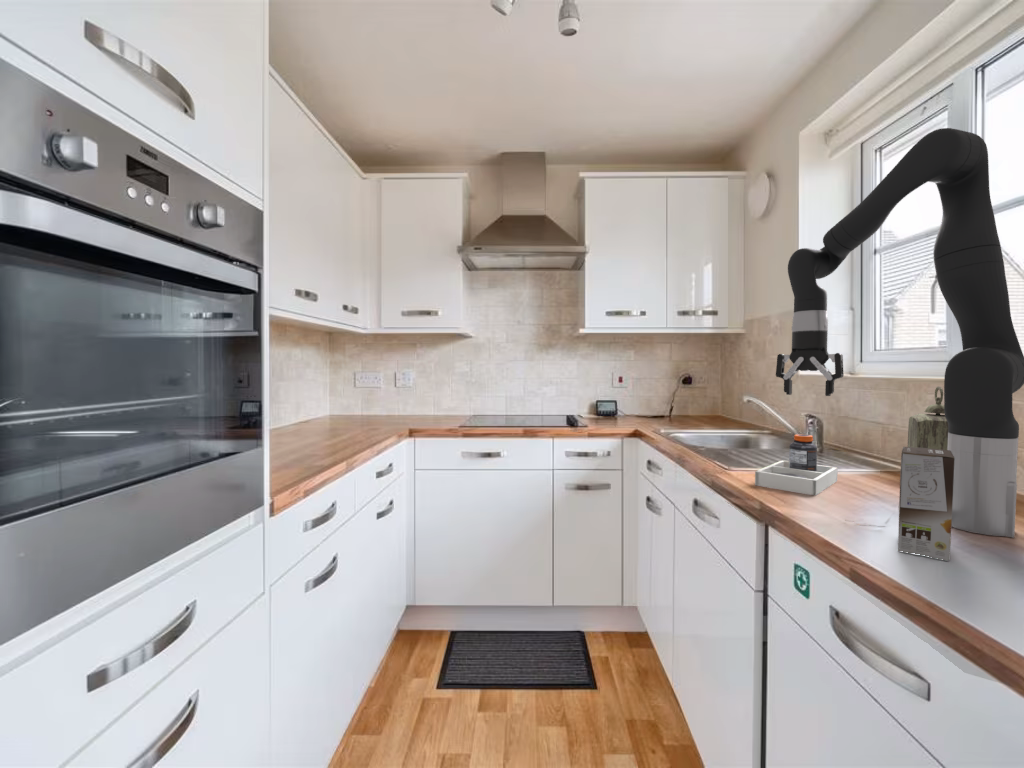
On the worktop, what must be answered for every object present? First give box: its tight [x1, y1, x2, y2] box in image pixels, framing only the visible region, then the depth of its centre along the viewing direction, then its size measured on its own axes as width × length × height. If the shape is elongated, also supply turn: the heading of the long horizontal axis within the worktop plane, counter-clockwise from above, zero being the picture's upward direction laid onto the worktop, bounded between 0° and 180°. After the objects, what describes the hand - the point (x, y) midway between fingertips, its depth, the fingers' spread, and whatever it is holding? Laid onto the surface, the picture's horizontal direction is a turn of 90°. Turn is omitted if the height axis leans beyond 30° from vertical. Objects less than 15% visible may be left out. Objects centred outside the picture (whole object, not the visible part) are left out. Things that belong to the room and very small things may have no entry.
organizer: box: [754, 460, 839, 496], centre depth 117 cm, size 13×20×4 cm, turn 135°
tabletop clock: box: [907, 386, 948, 450], centre depth 123 cm, size 14×9×25 cm, turn 148°
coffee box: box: [897, 446, 955, 561], centre depth 78 cm, size 9×6×16 cm
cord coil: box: [780, 473, 806, 478], centre depth 114 cm, size 6×6×2 cm
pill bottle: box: [788, 433, 818, 472], centre depth 121 cm, size 6×6×11 cm
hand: (807, 395), depth 120 cm, fingers open, 8 cm apart
